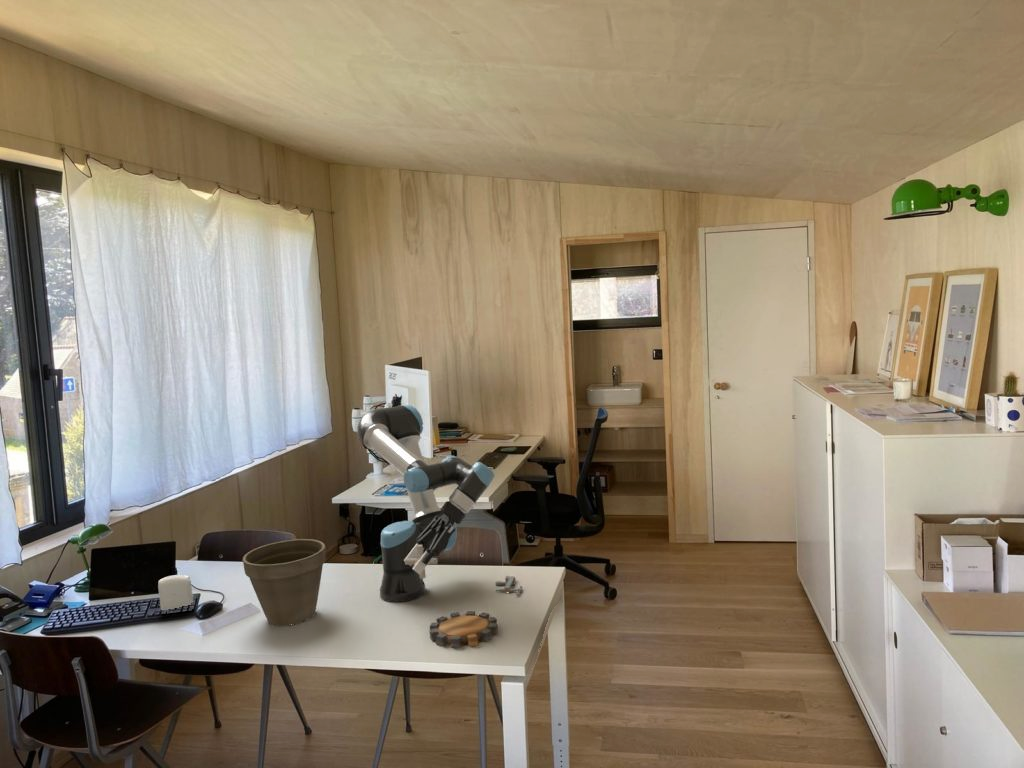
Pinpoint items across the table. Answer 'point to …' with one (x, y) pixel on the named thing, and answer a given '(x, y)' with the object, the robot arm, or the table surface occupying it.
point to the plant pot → (286, 578)
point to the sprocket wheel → (463, 629)
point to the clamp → (508, 582)
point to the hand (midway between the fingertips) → (411, 567)
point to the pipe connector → (415, 560)
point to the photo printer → (175, 592)
